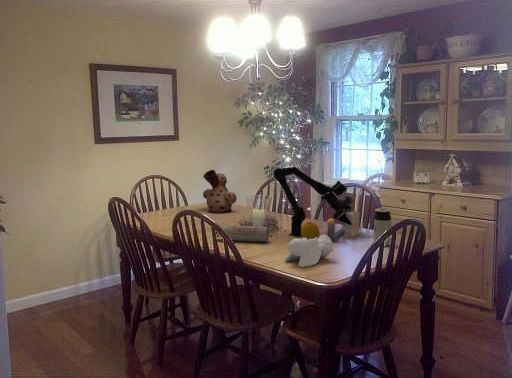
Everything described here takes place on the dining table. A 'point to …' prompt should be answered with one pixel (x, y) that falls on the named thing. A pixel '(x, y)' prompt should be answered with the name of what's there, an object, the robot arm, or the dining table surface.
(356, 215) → the supplement box
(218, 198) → the vessel
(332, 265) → the dining table surface
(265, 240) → the thermos bottle
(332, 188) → the robot arm
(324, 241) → the cherub figurine
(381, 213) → the travel mug
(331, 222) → the cord guide
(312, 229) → the apple
